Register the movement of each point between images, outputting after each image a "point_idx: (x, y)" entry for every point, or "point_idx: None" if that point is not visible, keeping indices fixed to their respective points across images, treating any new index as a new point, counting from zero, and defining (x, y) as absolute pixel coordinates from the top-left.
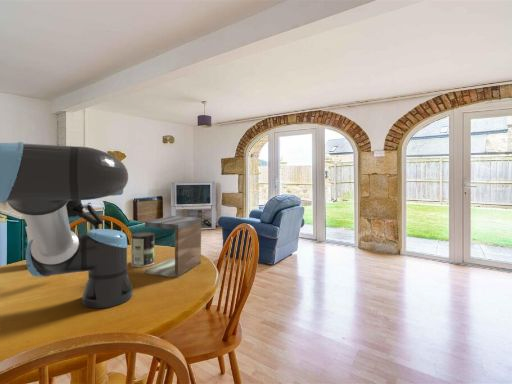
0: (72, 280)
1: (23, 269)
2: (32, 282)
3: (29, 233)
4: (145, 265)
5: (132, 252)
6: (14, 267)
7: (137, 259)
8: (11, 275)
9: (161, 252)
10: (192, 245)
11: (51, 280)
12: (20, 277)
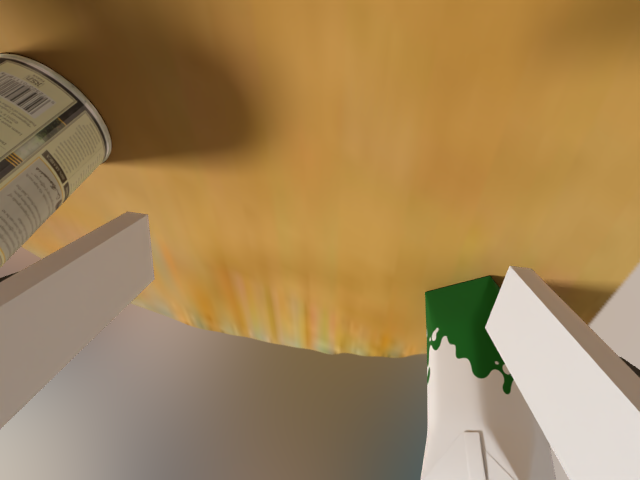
0: (394, 4)
1: None
2: (602, 102)
3: (547, 464)
4: (2, 56)
5: (35, 149)
6: None
7: (20, 93)
8: (615, 253)
9: None
10: None
11: (502, 81)
12: (602, 212)
